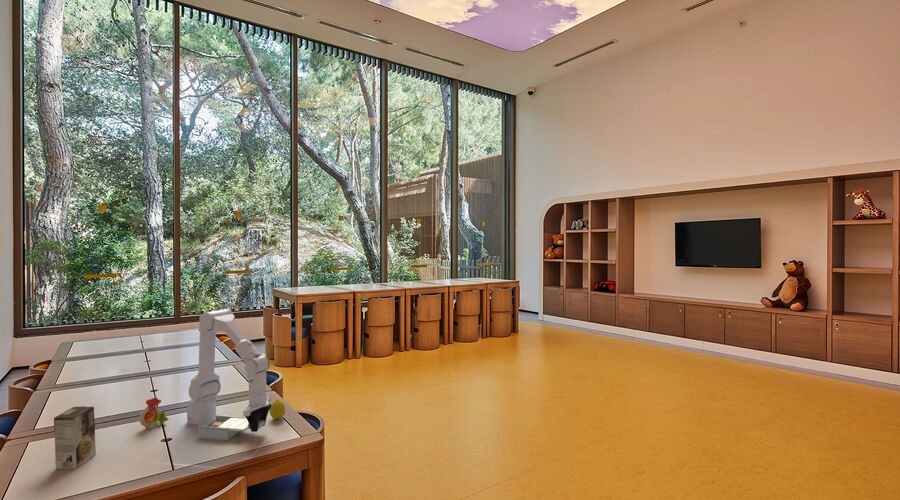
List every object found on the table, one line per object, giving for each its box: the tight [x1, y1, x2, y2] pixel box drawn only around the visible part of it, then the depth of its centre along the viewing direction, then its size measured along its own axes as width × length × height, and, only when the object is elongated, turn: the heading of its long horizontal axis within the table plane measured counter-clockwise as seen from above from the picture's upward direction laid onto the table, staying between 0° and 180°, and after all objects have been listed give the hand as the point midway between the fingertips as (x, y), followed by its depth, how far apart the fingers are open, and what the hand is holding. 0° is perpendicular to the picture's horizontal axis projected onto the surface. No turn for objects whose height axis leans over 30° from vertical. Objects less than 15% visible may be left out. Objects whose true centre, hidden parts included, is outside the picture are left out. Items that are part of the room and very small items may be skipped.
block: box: [211, 422, 223, 427], centre depth 172 cm, size 3×3×2 cm
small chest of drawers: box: [218, 418, 266, 432], centre depth 168 cm, size 14×8×2 cm, turn 81°
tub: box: [197, 414, 245, 441], centre depth 169 cm, size 11×10×5 cm
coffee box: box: [53, 406, 97, 470], centre depth 148 cm, size 9×6×16 cm
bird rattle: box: [138, 396, 169, 430], centre depth 175 cm, size 6×11×9 cm
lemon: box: [269, 399, 286, 420], centre depth 182 cm, size 6×6×8 cm
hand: (258, 428), depth 167 cm, fingers closed on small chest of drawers, 4 cm apart
